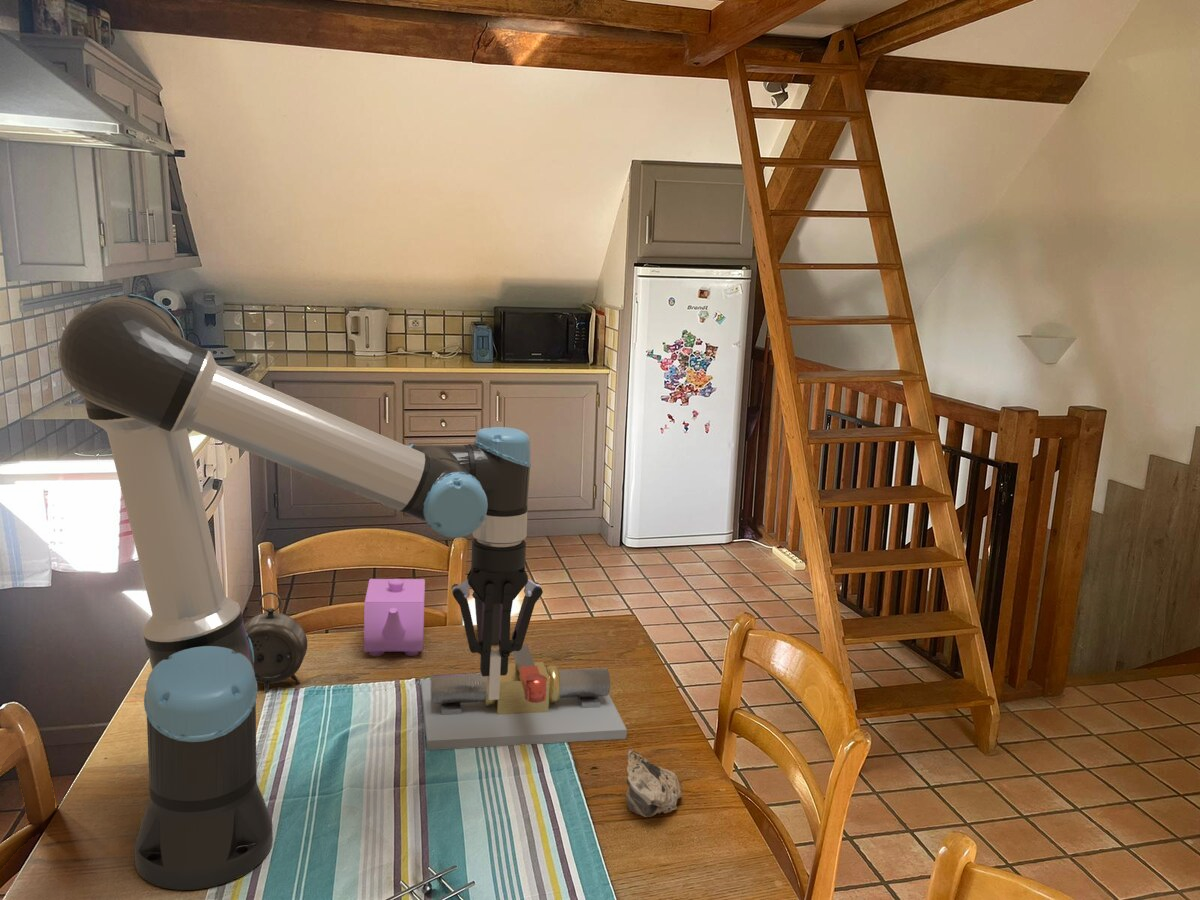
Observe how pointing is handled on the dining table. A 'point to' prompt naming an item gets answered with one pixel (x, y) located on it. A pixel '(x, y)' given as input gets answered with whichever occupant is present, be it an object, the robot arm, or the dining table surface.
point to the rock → (650, 787)
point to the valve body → (519, 689)
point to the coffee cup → (494, 619)
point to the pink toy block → (394, 616)
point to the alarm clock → (276, 645)
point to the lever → (530, 676)
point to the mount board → (519, 724)
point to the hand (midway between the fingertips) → (492, 695)
